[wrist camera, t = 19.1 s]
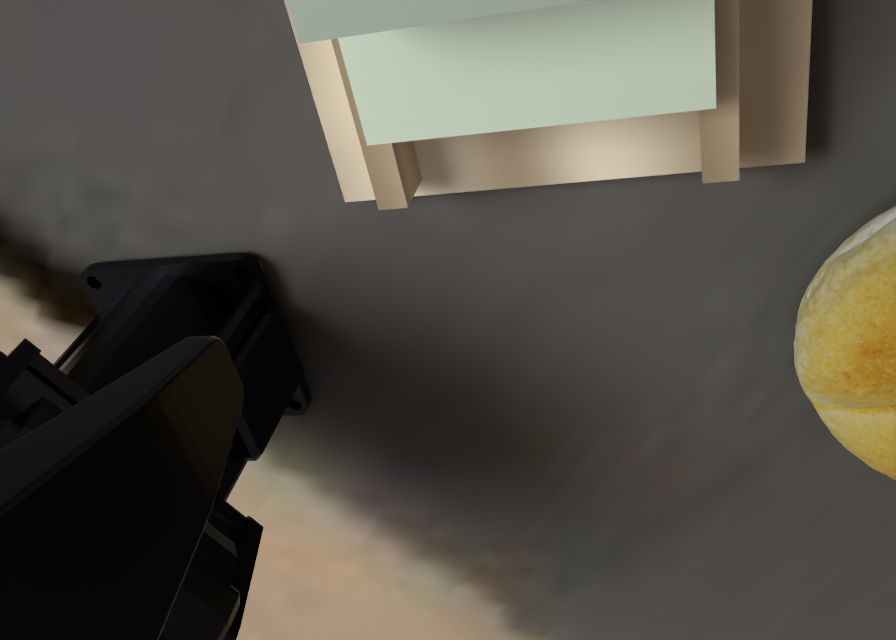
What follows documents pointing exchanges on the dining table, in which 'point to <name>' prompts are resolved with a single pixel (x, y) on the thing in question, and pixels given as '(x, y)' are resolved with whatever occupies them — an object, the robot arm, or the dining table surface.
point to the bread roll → (854, 343)
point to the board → (594, 123)
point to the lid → (514, 61)
